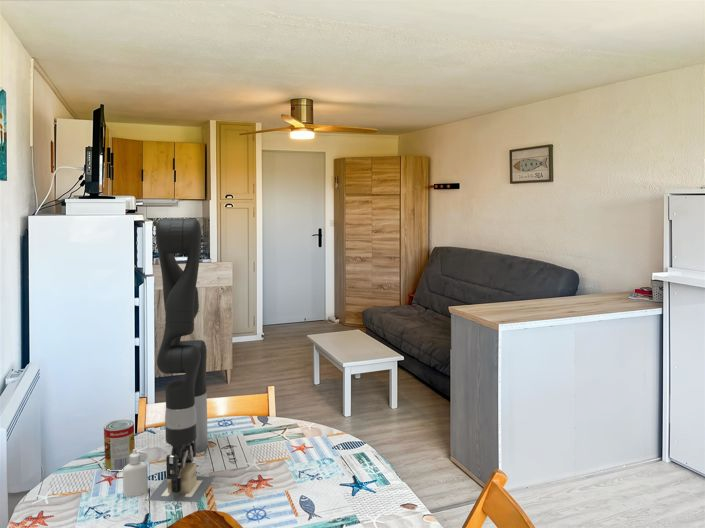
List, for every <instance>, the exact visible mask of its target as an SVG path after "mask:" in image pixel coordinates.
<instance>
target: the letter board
mask: <svg viewBox="0 0 705 528" xmlns="http://www.w3.org/2000/svg"><path fill="white" fill-rule="evenodd" d="M215 477H216V476H207V475H206V476H205V475H204V476H203V475H198V476H197V475H196V480H197V483H196V485H195V486H194V487H193V489H192V490H191V492H190V493H189V494H184V493H168V480H167V476H166V477H165V478H164V479H163V481H162V482H161V483H160V484H159V485H158V487H157V488H156V489H155V490H154V491H153V493H151V495H150V496H149V497H148V498H147V501H151V502H152V501H153V502H154V501H155V502H156V501H157V502H158V501H159V502H183V503H187V502H188V503H199V502H200V501H201V499H202V497H204V494H205V493H206V492H207V490H208V488H209V487H210V485H211V484H212V482H213V480H214V479H215Z"/></svg>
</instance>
